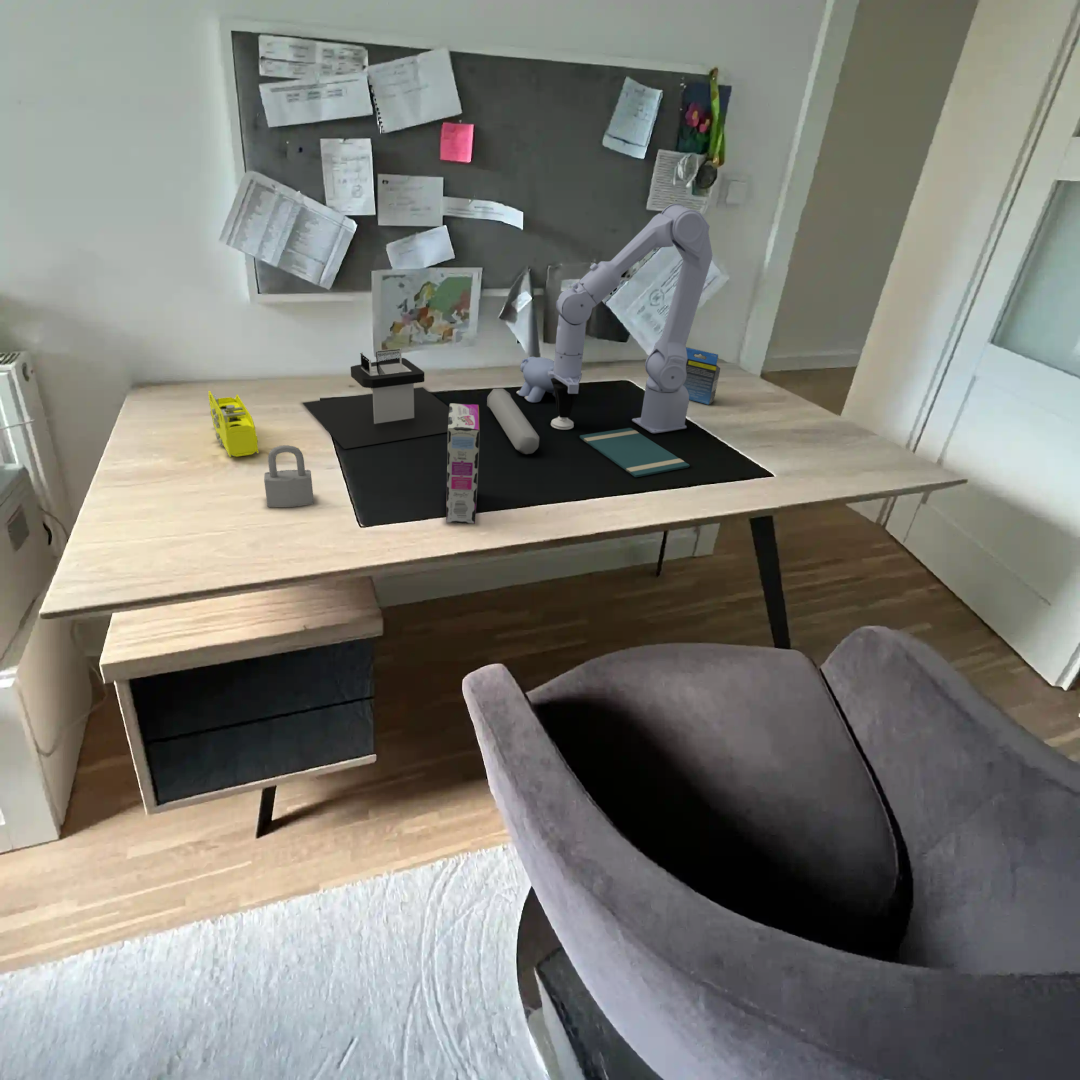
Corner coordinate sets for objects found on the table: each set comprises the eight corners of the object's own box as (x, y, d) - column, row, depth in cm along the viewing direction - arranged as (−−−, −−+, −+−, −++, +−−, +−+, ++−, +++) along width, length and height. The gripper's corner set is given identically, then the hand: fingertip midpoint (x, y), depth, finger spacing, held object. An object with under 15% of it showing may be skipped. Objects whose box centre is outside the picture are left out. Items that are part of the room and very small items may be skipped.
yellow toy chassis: (211, 429, 141) (204, 387, 136) (242, 425, 143) (236, 384, 139) (227, 461, 129) (220, 417, 125) (260, 456, 132) (255, 413, 127)
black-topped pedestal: (422, 387, 169) (421, 330, 162) (475, 428, 151) (477, 365, 144) (302, 403, 156) (296, 341, 149) (344, 449, 137) (339, 381, 130)
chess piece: (557, 430, 153) (561, 385, 148) (546, 422, 156) (550, 377, 151) (577, 428, 155) (582, 383, 150) (566, 419, 158) (571, 375, 153)
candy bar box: (477, 525, 116) (480, 429, 108) (445, 524, 116) (446, 428, 107) (476, 493, 126) (479, 403, 117) (447, 492, 125) (448, 401, 117)
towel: (630, 429, 156) (630, 427, 156) (689, 467, 142) (689, 464, 141) (579, 437, 150) (579, 435, 150) (635, 477, 136) (635, 475, 136)
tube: (547, 437, 139) (513, 391, 159) (522, 430, 137) (491, 385, 157) (537, 462, 141) (505, 413, 161) (512, 455, 139) (483, 407, 159)
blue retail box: (714, 401, 176) (725, 351, 170) (708, 405, 173) (719, 354, 167) (680, 392, 180) (689, 343, 174) (674, 396, 177) (683, 346, 171)
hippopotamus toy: (543, 381, 180) (546, 343, 175) (575, 401, 169) (579, 361, 164) (504, 385, 175) (506, 346, 170) (535, 407, 164) (537, 365, 159)
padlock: (313, 494, 121) (307, 439, 116) (314, 506, 118) (308, 449, 113) (268, 498, 119) (260, 441, 114) (267, 509, 116) (259, 452, 110)
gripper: (544, 340, 153) (539, 402, 160) (556, 362, 141) (550, 427, 148) (576, 341, 154) (570, 402, 161) (591, 363, 142) (584, 427, 149)
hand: (563, 414), depth 154 cm, fingers closed on chess piece
